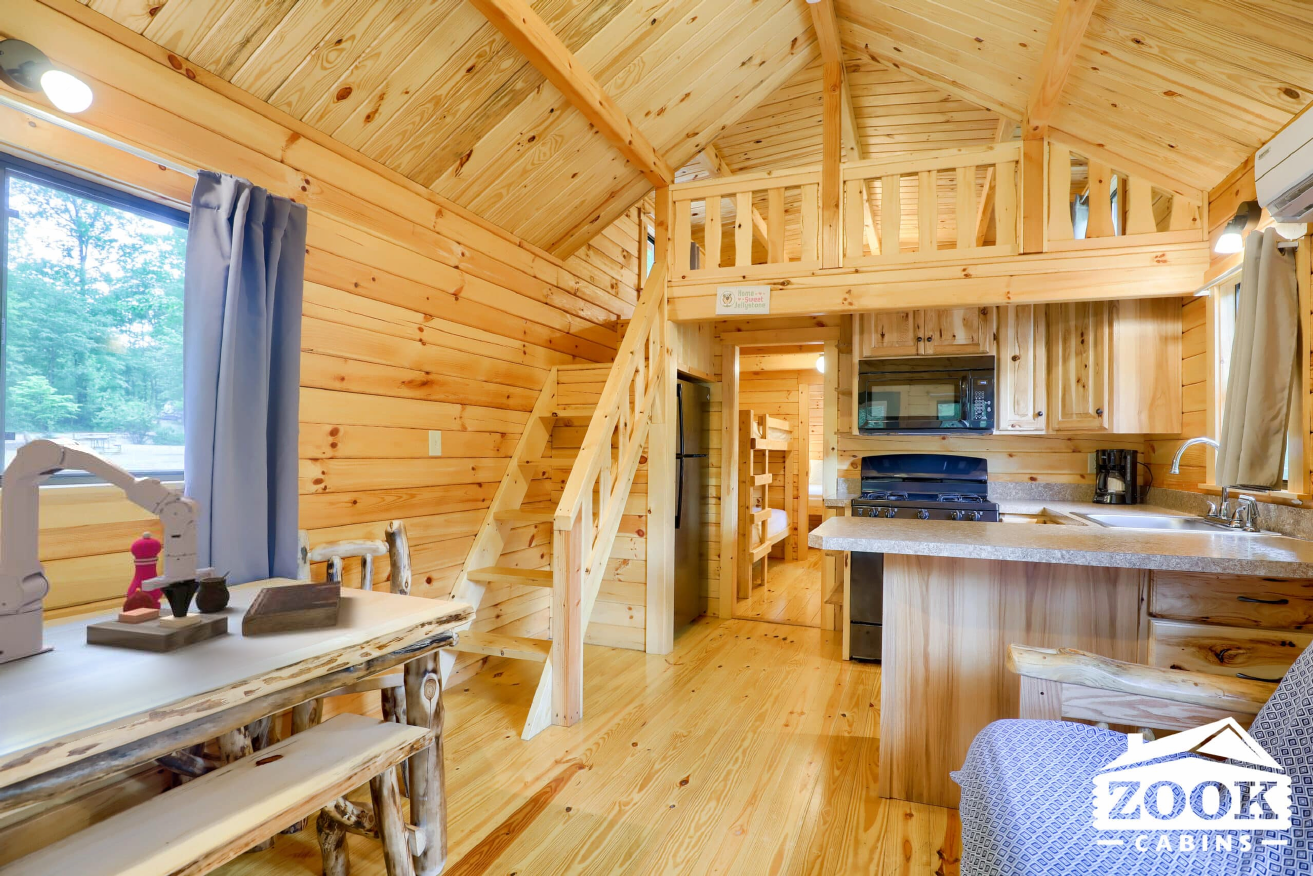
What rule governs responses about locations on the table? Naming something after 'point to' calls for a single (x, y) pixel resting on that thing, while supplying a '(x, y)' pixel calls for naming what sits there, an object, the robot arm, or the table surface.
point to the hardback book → (293, 608)
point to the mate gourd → (212, 594)
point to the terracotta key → (138, 615)
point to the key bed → (155, 632)
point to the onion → (138, 601)
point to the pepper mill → (145, 565)
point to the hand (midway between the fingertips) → (180, 616)
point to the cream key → (179, 621)
